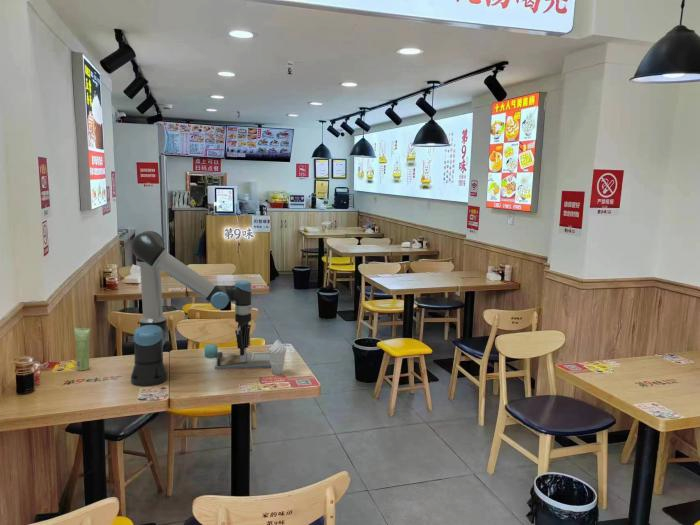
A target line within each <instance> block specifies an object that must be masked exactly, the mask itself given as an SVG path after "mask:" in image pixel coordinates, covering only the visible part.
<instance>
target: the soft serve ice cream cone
mask: <svg viewBox="0 0 700 525" xmlns="http://www.w3.org/2000/svg"><path fill="white" fill-rule="evenodd" d="M282 343H283V342H281V341H280V340H279V339H276V340H275V341H274V342H273V344H272V345H271V346H270V347H269V349H268V351H267V352H269V354H270V355H269V356H270V363H271V368H270V369H271V372H272V375H275V376H279V375H282V373H283V369H284V365H285V357H286V353H287V348H286V346H285V345H283V344H282Z"/></svg>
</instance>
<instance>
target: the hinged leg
mask: <svg viewBox="0 0 700 525" xmlns="http://www.w3.org/2000/svg"><path fill="white" fill-rule="evenodd" d="M247 353H248V352H246V362H247ZM222 354H223V352H222V351H219V352H218V353H217V357H216V362H217V365H228V364H236V363H243V362H241V361H240V352H237V353H236V352H235V354H228V353H227V354H228V355H222Z"/></svg>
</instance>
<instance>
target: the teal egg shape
mask: <svg viewBox="0 0 700 525" xmlns="http://www.w3.org/2000/svg"><path fill="white" fill-rule="evenodd" d="M218 348H219V347H218V344H216V343H208V344H204V358H206V359H214V358H217V353H218V350H219V349H218Z"/></svg>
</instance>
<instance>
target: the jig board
mask: <svg viewBox="0 0 700 525" xmlns="http://www.w3.org/2000/svg"><path fill="white" fill-rule="evenodd" d="M235 353H236V352H235ZM235 353H232V352H231V353H222V355H228V354H235ZM246 353H247V362H243V363H236V364H228V365H217V361H216V362H215V365H214V369H215V370H230V369H231V370H232V369H233V370H236V369H238V370H239V369H240V370H241V369H272V368H271V363H270V356H269V355H270V354H269V351H263V352H262V351H258V352H257V351H256V352H255V351H254V352H246Z"/></svg>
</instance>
